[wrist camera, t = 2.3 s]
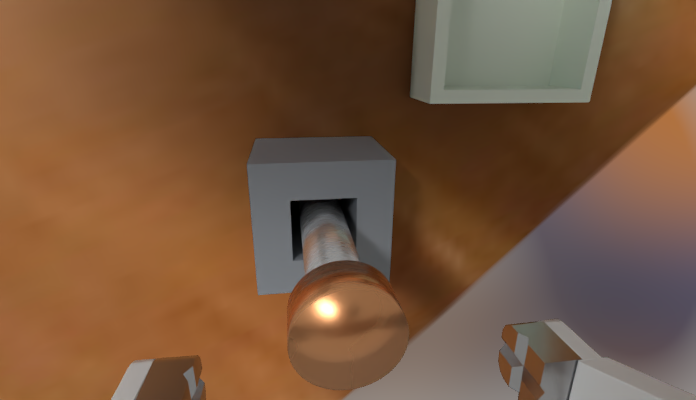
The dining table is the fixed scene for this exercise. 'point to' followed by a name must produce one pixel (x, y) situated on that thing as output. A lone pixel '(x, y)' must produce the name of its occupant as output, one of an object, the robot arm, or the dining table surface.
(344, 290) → the pin
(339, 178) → the pin block
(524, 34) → the tray
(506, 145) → the dining table surface
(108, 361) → the dining table surface
